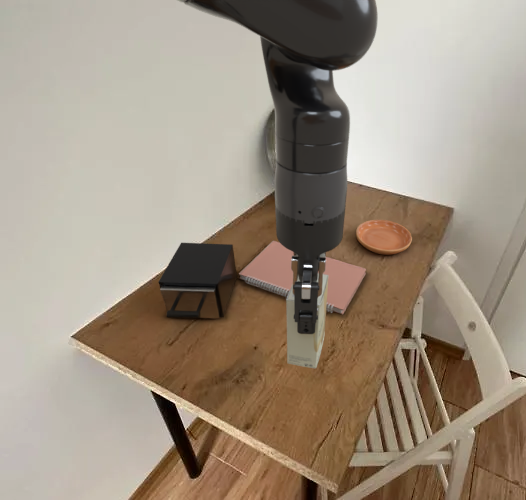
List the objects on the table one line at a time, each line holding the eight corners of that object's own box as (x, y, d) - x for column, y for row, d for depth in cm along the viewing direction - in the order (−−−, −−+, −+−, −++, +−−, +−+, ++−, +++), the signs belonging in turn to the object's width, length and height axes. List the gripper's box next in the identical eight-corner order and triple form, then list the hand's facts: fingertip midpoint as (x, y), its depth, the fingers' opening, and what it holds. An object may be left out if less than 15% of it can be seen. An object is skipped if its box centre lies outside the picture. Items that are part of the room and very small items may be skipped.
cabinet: (223, 317, 76) (217, 283, 70) (168, 315, 75) (158, 281, 70) (237, 276, 87) (232, 244, 81) (189, 274, 86) (181, 242, 81)
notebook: (236, 281, 85) (236, 275, 84) (273, 245, 98) (272, 239, 97) (341, 318, 78) (341, 312, 77) (365, 274, 91) (366, 268, 89)
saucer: (415, 235, 107) (417, 227, 105) (403, 265, 95) (405, 256, 93) (364, 222, 111) (365, 214, 109) (347, 249, 99) (348, 240, 97)
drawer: (213, 334, 71) (207, 306, 66) (160, 333, 70) (150, 305, 66) (232, 279, 85) (228, 253, 80) (187, 278, 84) (181, 251, 79)
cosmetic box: (316, 370, 49) (320, 307, 42) (286, 364, 49) (284, 301, 42) (325, 334, 54) (329, 273, 47) (297, 330, 55) (298, 268, 48)
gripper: (282, 171, 43) (285, 275, 53) (264, 235, 32) (272, 354, 41) (344, 174, 44) (335, 277, 53) (348, 239, 32) (336, 356, 42)
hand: (307, 310), depth 47 cm, fingers closed on cosmetic box, 6 cm apart
